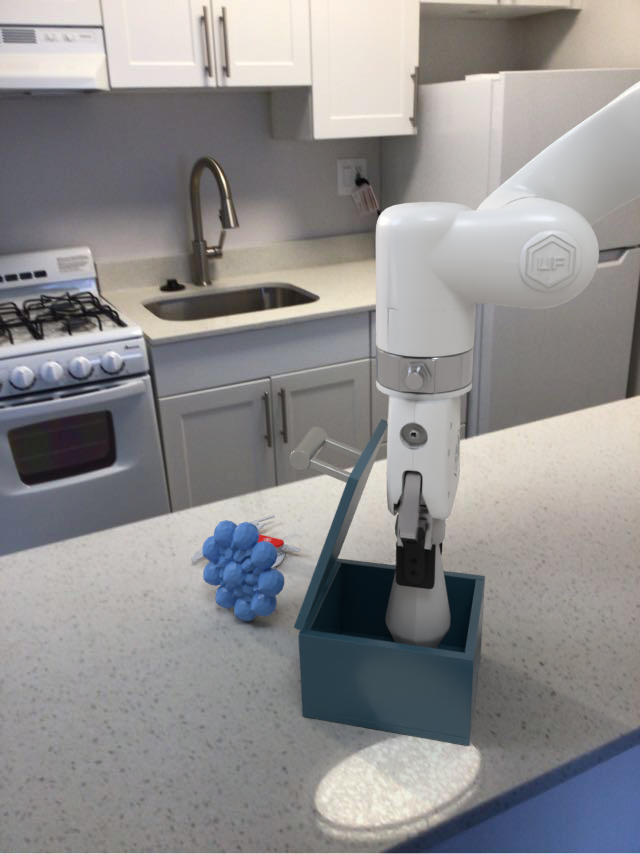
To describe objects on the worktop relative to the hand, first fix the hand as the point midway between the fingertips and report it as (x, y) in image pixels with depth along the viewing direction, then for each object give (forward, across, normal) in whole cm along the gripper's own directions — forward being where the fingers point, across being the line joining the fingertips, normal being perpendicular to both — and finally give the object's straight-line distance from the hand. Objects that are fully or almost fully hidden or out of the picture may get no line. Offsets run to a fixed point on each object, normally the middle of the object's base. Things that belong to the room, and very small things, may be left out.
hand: (419, 567), depth 66 cm
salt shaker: (+8, 0, 0) cm, 8 cm away
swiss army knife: (+13, +20, +23) cm, 33 cm away
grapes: (+13, +7, +19) cm, 24 cm away
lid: (-4, 0, +6) cm, 7 cm away
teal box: (+13, 0, +2) cm, 13 cm away
